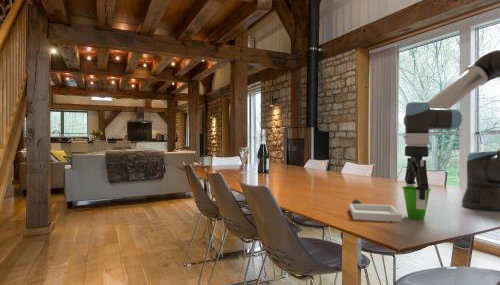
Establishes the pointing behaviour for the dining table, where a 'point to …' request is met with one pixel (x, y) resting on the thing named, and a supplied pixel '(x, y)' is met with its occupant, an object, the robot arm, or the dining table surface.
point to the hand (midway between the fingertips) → (415, 205)
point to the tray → (375, 212)
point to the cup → (414, 203)
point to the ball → (356, 202)
